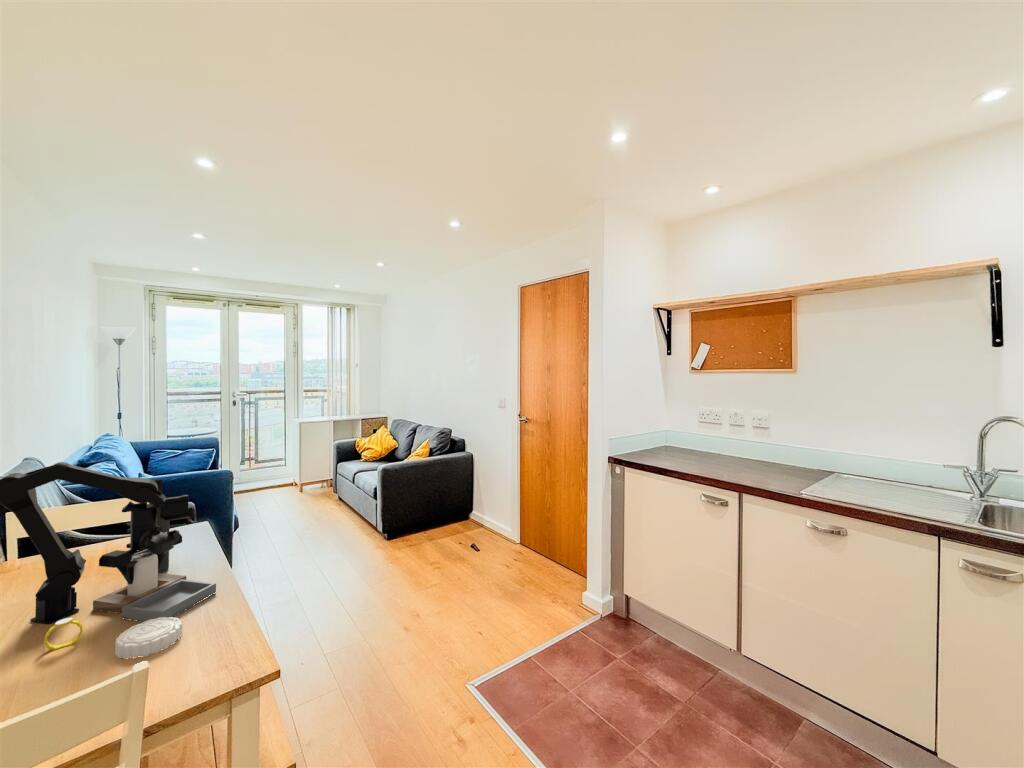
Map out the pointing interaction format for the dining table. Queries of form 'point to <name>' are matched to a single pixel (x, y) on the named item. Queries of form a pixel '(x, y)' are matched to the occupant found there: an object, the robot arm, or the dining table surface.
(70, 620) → the watch
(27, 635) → the dining table surface
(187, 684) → the dining table surface
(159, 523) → the wine bottle
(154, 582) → the can
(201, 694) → the dining table surface
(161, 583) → the holder
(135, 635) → the mooncake
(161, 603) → the tray
